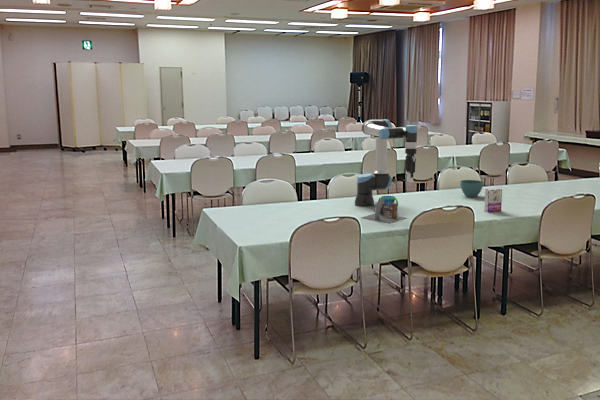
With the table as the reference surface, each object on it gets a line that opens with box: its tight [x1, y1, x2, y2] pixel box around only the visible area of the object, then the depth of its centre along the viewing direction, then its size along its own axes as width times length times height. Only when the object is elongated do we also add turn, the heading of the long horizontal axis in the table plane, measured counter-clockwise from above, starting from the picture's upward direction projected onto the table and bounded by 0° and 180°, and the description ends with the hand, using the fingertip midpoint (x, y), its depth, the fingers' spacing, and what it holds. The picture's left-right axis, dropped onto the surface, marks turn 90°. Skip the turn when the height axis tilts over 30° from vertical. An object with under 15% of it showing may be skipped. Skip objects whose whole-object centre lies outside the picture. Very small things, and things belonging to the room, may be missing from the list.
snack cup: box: [377, 195, 399, 212], centre depth 421 cm, size 16×10×10 cm
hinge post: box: [379, 197, 384, 215], centre depth 406 cm, size 5×5×12 cm
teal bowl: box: [459, 179, 484, 198], centre depth 470 cm, size 18×18×12 cm
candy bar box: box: [484, 187, 503, 213], centre depth 415 cm, size 11×5×16 cm, turn 105°
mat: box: [360, 213, 407, 224], centre depth 398 cm, size 24×20×1 cm
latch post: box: [374, 201, 380, 220], centre depth 391 cm, size 5×3×12 cm, turn 172°
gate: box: [383, 202, 398, 219], centre depth 398 cm, size 14×2×10 cm, turn 28°
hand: (409, 181), depth 398 cm, fingers open, 4 cm apart
